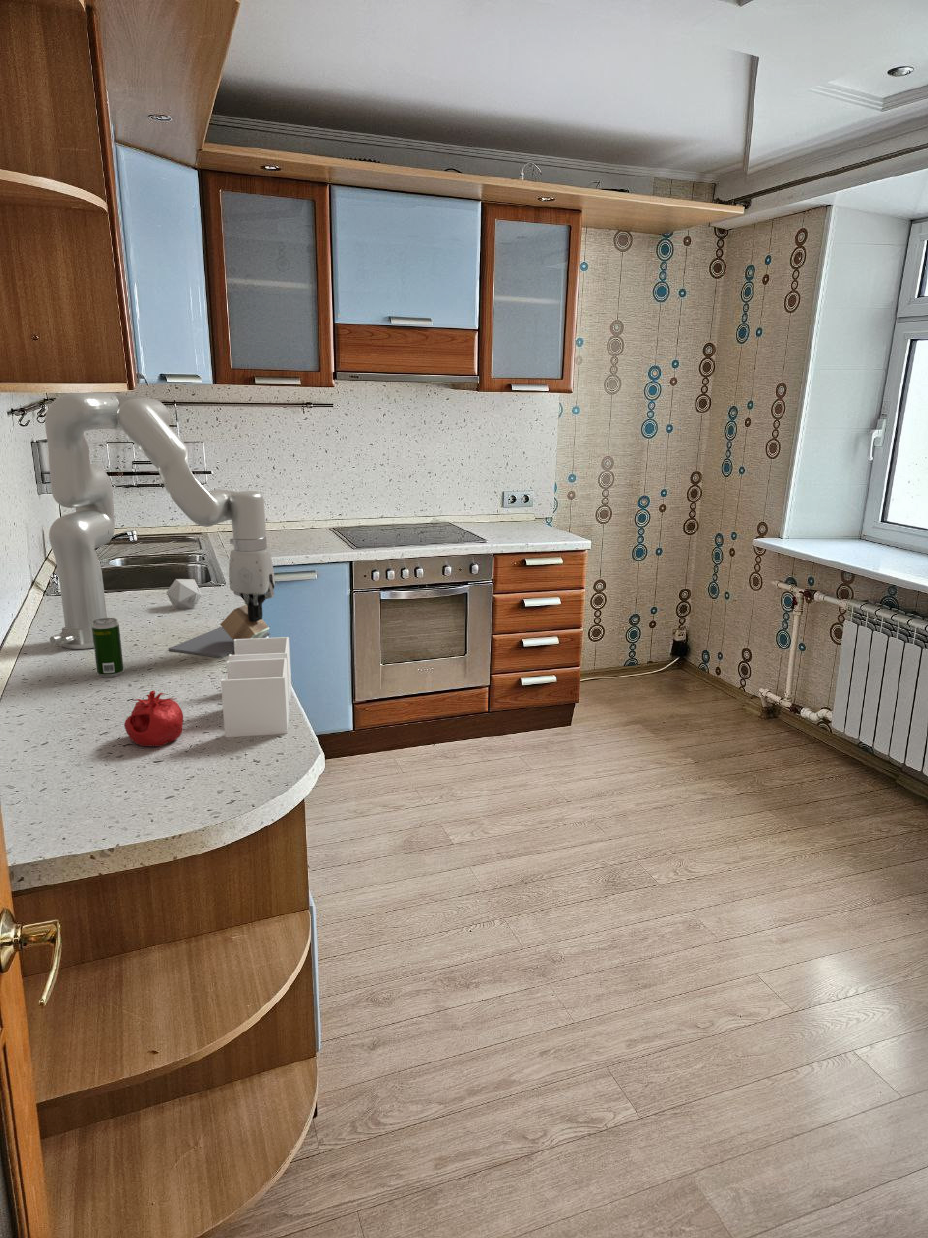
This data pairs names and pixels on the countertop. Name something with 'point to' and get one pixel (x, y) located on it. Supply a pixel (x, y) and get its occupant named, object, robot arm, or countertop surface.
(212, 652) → the mat
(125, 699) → the countertop surface
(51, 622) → the countertop surface
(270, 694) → the storage container
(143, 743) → the pomegranate
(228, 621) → the block
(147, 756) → the countertop surface
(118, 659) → the beer can
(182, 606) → the die
